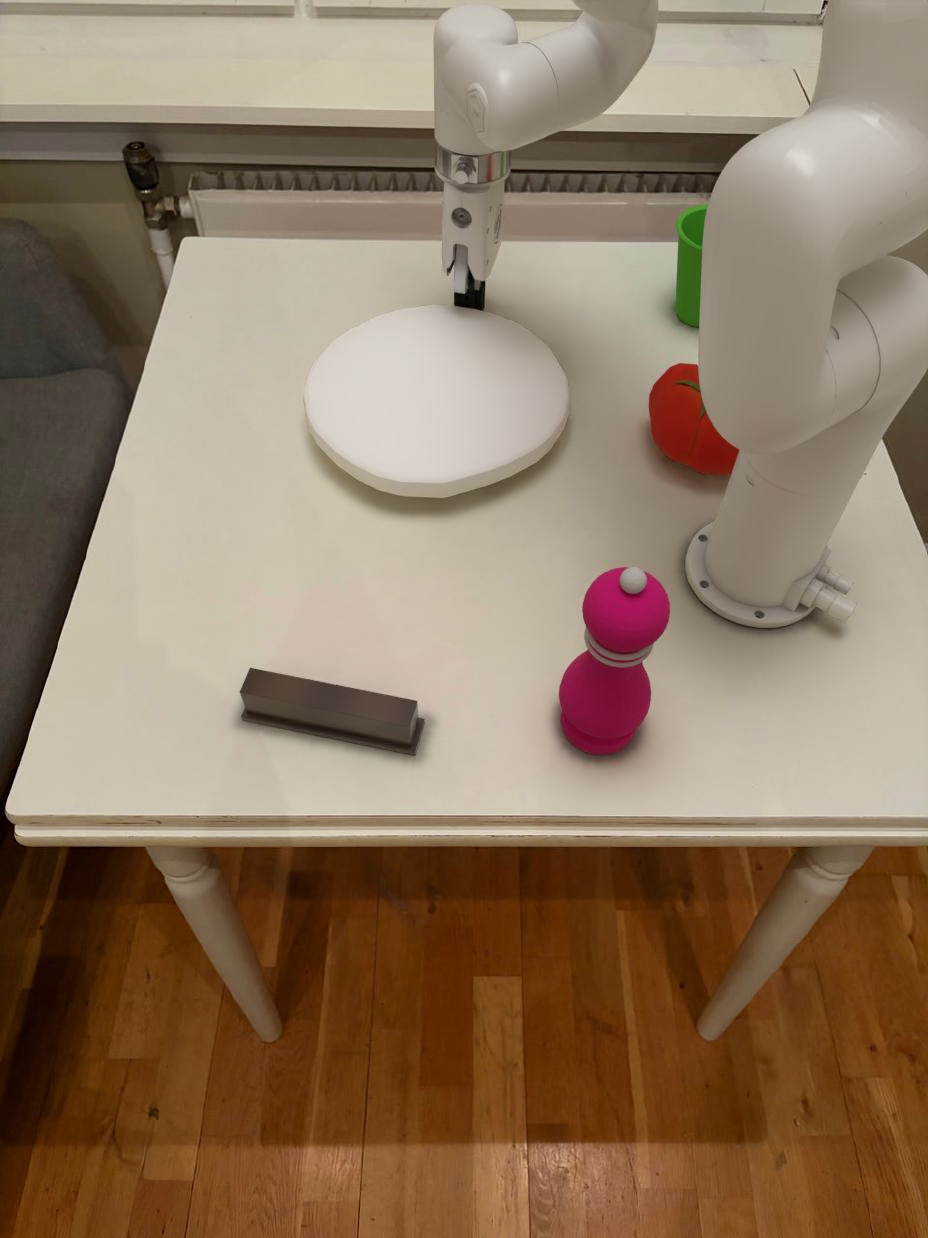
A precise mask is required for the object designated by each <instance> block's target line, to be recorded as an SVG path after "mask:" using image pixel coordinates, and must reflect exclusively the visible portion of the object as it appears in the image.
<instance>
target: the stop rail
mask: <svg viewBox="0 0 928 1238" xmlns="http://www.w3.org/2000/svg"><path fill="white" fill-rule="evenodd" d="M239 694H240V697H241V700H242V703H243V705H244V708H243V711H242V713H241V715H240V717H241V720H242V721H246V722H249V723H250V722H251V723H254V724H255V723H256V724H259V725H264V726H270V727H275V728H279V729H285V730H290V731H293V732H299V733H303V734H307V735H313V736H318V737H323V738H329V739H333V740H338V741H343V742H347V743H352V744H357V745H362V746H367V747H371V748H377V749H382V750H387V751H392V752H396V753H399V754H400V753H401V754H404V755H405V754H406V755H410V756H416V754H417V751H418V748H419V744H420V741H421V737H422V735H423V730H424V727H425V721H426V720H425V718H424V717H419V707H418V705H419V704H418V700H415V699H410V698H405V697H399V696H396V695H390V694H385V693H380V692H375V691H369V690H366V689H360V688H356V687H355V688H354V687H351V686H345V685H339V684H334V683H331V682H330V683H329V682H324V681H320V680H319V681H318V680H315V679H310V678H309V679H308V678H305V677H299V676H294V675H289V674H285V673H279V672H274V671H270V670H264V669H260V668H259V669H258V668H254V667H249V669H248V671H247V673H246V675H245V678H244V681H243V683H242V686H241V688H240V690H239Z"/></svg>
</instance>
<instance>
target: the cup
mask: <svg viewBox="0 0 928 1238" xmlns="http://www.w3.org/2000/svg"><path fill="white" fill-rule="evenodd" d="M707 207H708V203H707V204H700V205H696V206H692V207H690V208H687V209H686V210H685V211H683V212H682V213H680V216H679V217H678V218H677V220H676V223H675V229H676V230H675V231H676V232H677V235H678V237H677V238H678V239H677V259H676V282H675V283H676V284H675V304H674V306H675V307H674V308H675V313H676V316H677V318H678V319H679V320H680V321H681V322H682V323H684V324H686V325H688V326H691V327H694V328H695V327H696V328H699V320H700V296H701V271H702V247H703V233H704V222H705V216H706V211H707Z"/></svg>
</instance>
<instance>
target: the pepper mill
mask: <svg viewBox="0 0 928 1238" xmlns="http://www.w3.org/2000/svg"><path fill="white" fill-rule="evenodd" d="M581 608H582V610H581V613H582V619H583V622H584V623H583V624H584V625H585V628H584V633H583V638H584V639H583V640H584V643H585V647H586V648H587V649H586V650H585V651H584V652H581V654H579V655H577V656H576V657H575V658H574V659H573V660H572V661H571V663H570V664H569V665H568V666H567V668H566V669H565V671H564V672H563V675H562V677H561V680H560V683H559V687H558V700H559V706H560V709H561V712H560V727H561V729H562V732H563V735H564V736H565V738H566V739H567V740H568V741H569V742H570V743H571V744H572V745H573V746H574V747H576V748H577V749H579V750H581V751H583V752H585V753H588V754H592V755H597V756H598V755H600V756H604V755H611V754H614V753H615V754H616V753H618V752H620V751H621V750H623V749H624V748H625V747H626V746H628V745H629V743H630V742H631V741H632V739H633V738H634V736H635V733H636V731H637V728H639V727H640V725H641V724H642V723H643V722H644V721H645V719H646V717H647V716H648V714H649V710H650V707H651V701H652V687H651V680H650V676H649V675H648V671H647V670H646V668H645V666H644V663H643V662H644V661H645V660H647V658H649V656H650V655H651V653H652V651H653V648H654V644H655V643H656V642H657V641H658V640H659V639H660V638H661V637H662V636H663V635H664V633H665V631H666V629H667V628H668V624H669V621H670V615H671V603H670V598H669V594H668V593H667V590H666V589H665V587H664V585H663V584H662V583H661V582H660V581H659V580H658V579H657V578H656V577H655V576H654V575H652V574H651V573H650V572H647V571H645V570H642V569H641V568H639V567H636V566H632V567H631V566H621V567H615V568H611V569H609V570H606V571H604V572H603V573H600V575H598V576H597V577H595V579H594V580H593V581H592V582H591V584H590V585H589V587H588V588H587V590H586V592H585V594H584V598H583V602H582V606H581Z"/></svg>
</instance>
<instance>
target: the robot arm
mask: <svg viewBox="0 0 928 1238" xmlns="http://www.w3.org/2000/svg"><path fill="white" fill-rule="evenodd" d="M570 1H571V2H572V3H573V4H574V5H575V6H576V7H577V8H578V9H579V10H580V11H582V12H581V14H580V16H578V18H577V19H576V20H575V22H574V23H573V24H572V25H570V26H568V27H565V28H562V29H559V30H555V31H552V32H548V33H545V34H542V35H539V36H537V37H533V38H530V39H527V40H524V41H521V42H520V43H519V33H518V28H517V25H516V22H515V21H514V19H513V18H512V16H511V14H508V13H507V12H506V11H505V10H503V9H502V8H500V7H497V6H495V5H494V6H493V5H490V4H483V3H466V4H460V5H456V6H453V7H451V8H448V9H447V10H446V11H444V12H443V13H442V14H441V15H440V16H439V18H438V19H437V21H436V22H435V25H434V30H433V41H432V42H433V44H432V45H433V117H434V118H433V119H434V121H433V123H434V125H433V126H434V128H433V129H434V134H433V135H434V136H433V137H434V139H433V140H434V145H433V146H434V147H433V148H434V172H435V174H436V176H437V177H438V178H439V179H440V180H441V181H443V191H442V192H443V193H442V194H443V195H442V201H441V203H442V213H441V214H442V215H441V267H442V271H443V273H444V275H445V276H447V277H448V276H450V274H451V273H452V270H453V306H457V307H464V308H471V309H476V310H480V311H484V310H485V305H486V283H487V282H486V280H487V279H488V278H489V277H490V275H491V273H492V271H493V267H494V265H495V262H496V260H497V257H498V254H499V251H500V247H501V245H502V242H503V238H504V233H505V187H506V186H505V183H506V182H505V180H507V179H508V178H509V176H510V174H511V169H512V153H513V152H512V151H514V150H516V149H518V148H522V147H524V146H527V145H531V144H533V143H535V142H537V141H539V140H543V139H545V138H547V137H548V136H551V135H553V134H557V133H559V132H561V131H565V130H567V129H569V128H574V127H576V126H578V125H582V124H584V123H587V122H589V121H592V120H594V119H596V118H597V117H599V116H600V115H602V114H603V113H605V112H606V111H607V110H609V108H610V107H612V106H613V105H614V104H615V102H616V101H617V100H618V99H619V98H620V97H621V96H622V95H623V93H625V91H626V89H627V88H628V87H629V85H631V83H632V82H633V81H634V79H635V78H636V76H637V75H638V74H639V72H640V71H641V69H642V68H643V67H644V66H645V64H646V62H647V61H648V59H649V57H650V55H651V53H652V51H653V49H654V44H655V41H656V35H657V29H658V22H659V0H570ZM826 5H827V6H826V8H825V13H824V17H823V23H822V34H821V48H820V56H819V57H820V58H819V64H818V69H817V70H818V71H817V76H816V82H815V86H814V91H813V95H812V98H811V102H810V104H809V106H808V108H807V109H806V110H805V112H804V113H803V114H802V115H800V116H798V117H796V118H793V119H791V120H788V121H786V122H784V123H781V124H779V125H777V126H774V127H772V128H770V129H768V130H766V131H764V132H762V133H760V134H759V135H757V136H755V137H754V138H752V139H750V140H749V141H748V142H747V143H745V144H744V145H743V146H742V147H740V149H739V150H737V151H736V152H735V153H734V154H733V155H732V156H731V158H730V159H729V161H727V163H726V164H725V166H724V167H723V169H722V171H721V172H720V174H719V176H718V177H717V180H716V182H715V184H714V187H713V189H712V192H711V194H710V197H709V199H708V203H707V204H708V207H707V211H706V216H705V222H704V233H703V247H702V271H701V296H700V320H699V327H698V345H697V346H698V349H697V351H698V352H697V365H698V372H699V384H700V390H701V396H702V399H703V403H704V406H705V409H706V412H707V414H708V416H709V418H710V420H711V422H712V424H713V425H714V427H715V428H716V430H717V431H718V433H719V434H720V435H721V436H722V437H723V438H724V439H725V440H726V441H727V442H729V443H730V444H731V445H733V446H734V447H736V448H738V449H740V450H739V453H738V456H737V459H736V462H735V465H734V468H733V471H732V474H730V477H729V480H728V483H727V486H726V489H725V492H724V495H723V498H722V501H721V503H720V507H719V509H718V512H717V514H716V518H715V520H713V521H712V522H710V523H708V524H707V525H705V526H703V527H701V529H700V530H699V531H697V533H695V535H694V536H693V538H692V539H691V541H690V543H689V546H688V548H687V551H686V555H685V561H684V571H685V575H686V579H687V582H688V583H689V586H690V588H691V589H692V592H693V593H694V594H695V595H696V596H697V598H698V599H699V600H700V601H701V602H702V603H703V604H704V606H706V607H707V608H708V609H709V610H711V611H712V612H714V613H716V614H717V615H718V616H720V617H722V618H724V619H726V620H728V621H731V622H733V623H736V624H739V625H742V626H746V627H750V628H751V627H752V628H760V629H774V628H780V627H785V626H789V625H792V624H795V623H798V622H799V621H801V620H802V619H805V618H806V617H807V616H809V615H810V614H811V613H812V612H813V611H814V610H815V608H818V609H820V610H821V611H824V612H826V614H827V615H828V616H830V617H833V618H834V619H836V620H838V621H840V622H842V623H844V624H847V621H848V620H849V618H850V617H851V615H852V614H853V612H854V610H855V609H856V607H857V605H858V604H857V603H856V602H854V601H852V600H849V599H848V598H847V597H844V596H847V595H848V594H849V592H850V590H851V589H852V588H853V585H854V584H855V582H854V581H853V580H851V579H849V578H847V577H845V576H843V575H839V574H838V573H835V572H834V571H832V570H831V566H829V565H828V564H826V563H827V561H828V559H829V557H830V556H831V553H832V549H831V548H829V547H827V545H828V543H830V539H831V538H832V535H833V534H834V532H835V530H836V527H837V525H838V524H839V521H840V519H841V518H842V516H843V514H844V512H845V510H846V507H847V506H848V504H849V502H850V500H851V497H852V496H853V493H854V492H855V489H856V488H857V486H858V483H859V482H860V480H861V478H862V476H864V473H865V471H866V469H867V467H868V465H869V463H870V461H871V459H872V457H873V456H874V453H875V452H876V450H877V448H878V446H879V444H880V443H881V441H882V440H883V439H882V438H883V437H884V436H885V434H886V432H887V430H888V428H889V427H890V426H891V425H892V423H893V421H894V420H895V418H896V416H897V415H898V414H899V412H900V411H901V410H902V408H903V407H904V405H905V404H906V402H908V400H909V398H910V396H911V395H912V394H913V392H914V391H915V390H916V388H917V386H918V385H919V384H920V382H921V381H922V379H923V377H924V376H925V374H926V372H927V371H928V274H927V273H926V272H924V270H922V268H920V267H919V266H917V265H916V264H915V263H912V262H911V261H908V260H906V259H904V258H901V257H898V256H894V255H889V254H891V253H892V252H894V251H896V250H898V249H899V248H902V247H903V246H905V245H906V244H908V243H910V242H911V241H913V240H915V239H916V238H918V237H919V236H921V235H922V234H923V233H925V232H926V231H927V230H928V0H827V4H826ZM826 585H827V586H829V587H830V588H832V589H833V590H834V591H837V592H839V593H841V594H843V595H844V596H842V595H840V594H836V593H834V592H832V591H831V590H829V589H827V588H826Z"/></svg>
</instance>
